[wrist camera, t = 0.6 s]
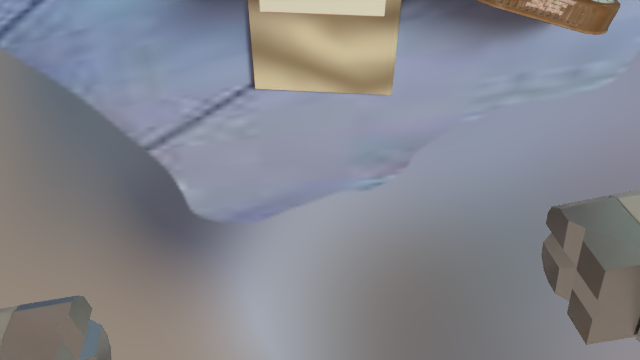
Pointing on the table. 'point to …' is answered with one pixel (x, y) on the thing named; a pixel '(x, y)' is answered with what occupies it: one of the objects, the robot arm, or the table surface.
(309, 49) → the board
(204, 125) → the table surface
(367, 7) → the tile
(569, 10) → the tin
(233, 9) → the table surface
